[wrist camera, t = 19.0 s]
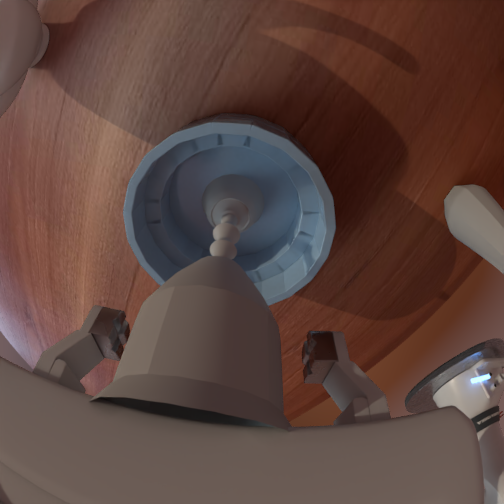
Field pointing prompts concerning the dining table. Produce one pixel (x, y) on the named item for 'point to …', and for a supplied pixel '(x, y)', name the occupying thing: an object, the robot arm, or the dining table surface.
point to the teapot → (19, 46)
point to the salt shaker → (477, 222)
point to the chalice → (208, 331)
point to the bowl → (239, 163)
